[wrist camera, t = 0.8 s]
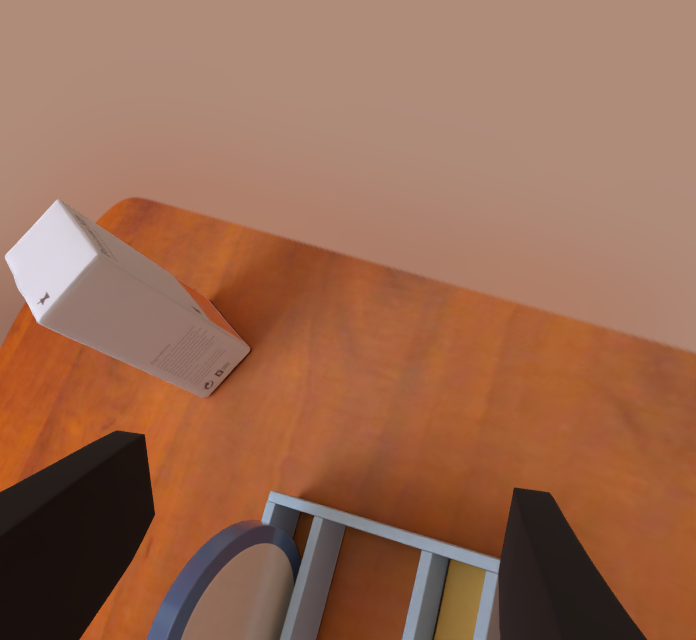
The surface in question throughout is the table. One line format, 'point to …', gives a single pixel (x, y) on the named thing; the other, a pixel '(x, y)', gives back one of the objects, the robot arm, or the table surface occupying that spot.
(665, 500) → the table surface
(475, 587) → the rack
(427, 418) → the table surface
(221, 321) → the cosmetic box
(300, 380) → the table surface
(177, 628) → the plate
